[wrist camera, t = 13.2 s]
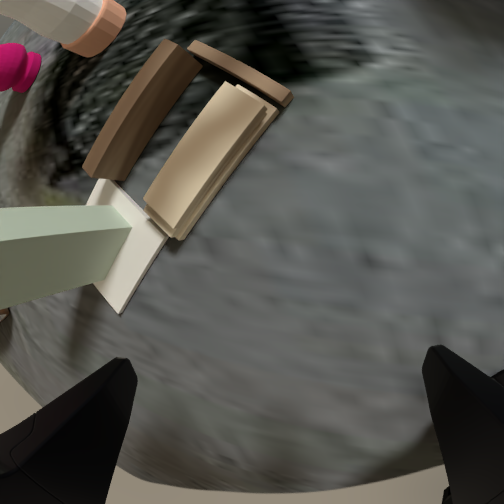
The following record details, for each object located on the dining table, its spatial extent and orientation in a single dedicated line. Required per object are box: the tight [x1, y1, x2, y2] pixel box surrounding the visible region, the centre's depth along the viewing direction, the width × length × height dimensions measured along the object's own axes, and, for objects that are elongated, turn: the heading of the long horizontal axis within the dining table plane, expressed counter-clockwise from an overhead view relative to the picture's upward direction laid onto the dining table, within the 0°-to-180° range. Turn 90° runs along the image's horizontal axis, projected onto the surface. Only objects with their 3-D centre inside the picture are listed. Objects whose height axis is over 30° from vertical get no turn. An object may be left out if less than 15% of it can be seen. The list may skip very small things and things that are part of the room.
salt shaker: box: [0, 0, 126, 58], centre depth 14 cm, size 7×7×19 cm
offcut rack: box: [82, 39, 294, 240], centre depth 19 cm, size 10×13×4 cm
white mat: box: [86, 178, 169, 314], centre depth 24 cm, size 9×9×1 cm
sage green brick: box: [0, 205, 132, 310], centre depth 18 cm, size 3×6×13 cm, turn 141°
